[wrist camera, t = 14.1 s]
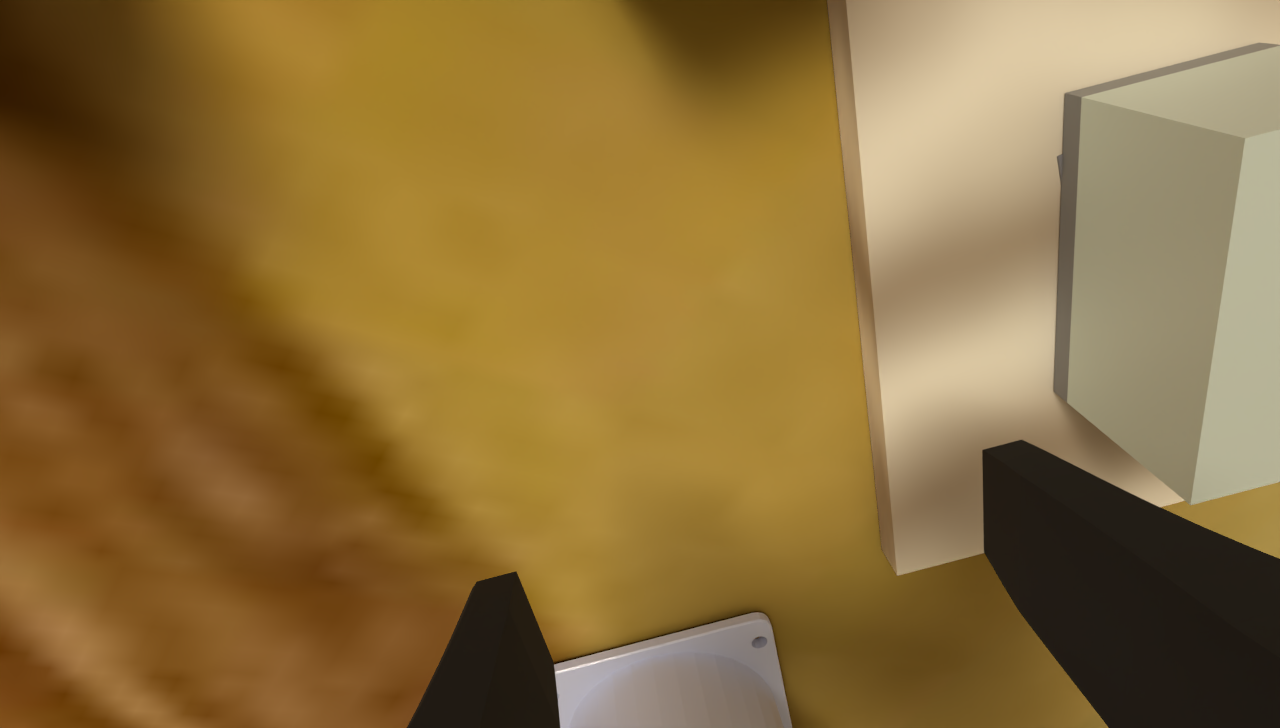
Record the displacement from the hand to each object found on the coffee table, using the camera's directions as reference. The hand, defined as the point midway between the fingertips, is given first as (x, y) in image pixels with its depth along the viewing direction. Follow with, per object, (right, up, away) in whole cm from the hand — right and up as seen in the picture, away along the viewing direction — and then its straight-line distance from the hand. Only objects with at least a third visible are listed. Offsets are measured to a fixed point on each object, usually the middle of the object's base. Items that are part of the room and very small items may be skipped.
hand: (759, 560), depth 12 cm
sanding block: (+11, +6, +7) cm, 14 cm away
